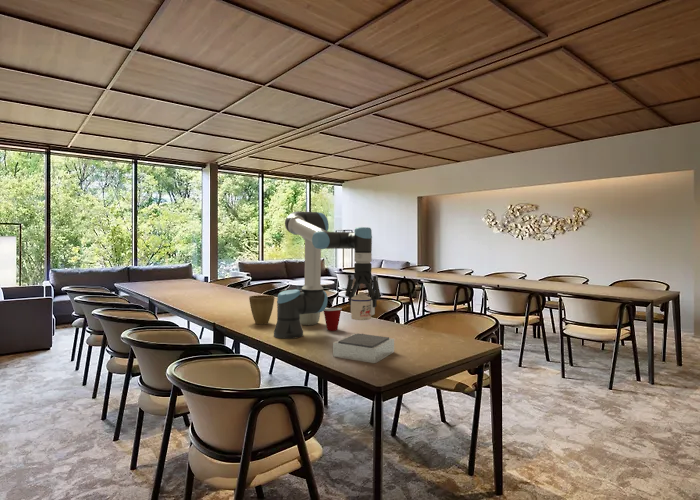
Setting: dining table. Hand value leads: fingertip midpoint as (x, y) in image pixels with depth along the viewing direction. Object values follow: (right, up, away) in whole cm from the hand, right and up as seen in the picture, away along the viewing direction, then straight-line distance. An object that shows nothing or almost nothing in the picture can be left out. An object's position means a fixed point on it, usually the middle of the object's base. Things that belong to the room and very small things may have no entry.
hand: (362, 313), depth 187 cm
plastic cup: (-16, -17, +50) cm, 55 cm away
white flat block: (+2, -18, +2) cm, 18 cm away
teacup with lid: (0, -2, 0) cm, 2 cm away
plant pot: (-58, -16, +66) cm, 89 cm away
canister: (-31, -16, +66) cm, 75 cm away
